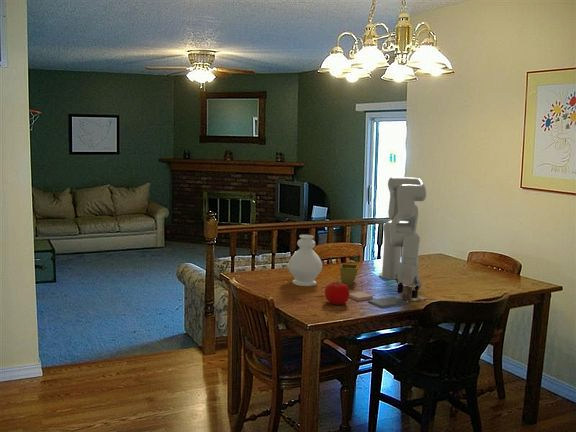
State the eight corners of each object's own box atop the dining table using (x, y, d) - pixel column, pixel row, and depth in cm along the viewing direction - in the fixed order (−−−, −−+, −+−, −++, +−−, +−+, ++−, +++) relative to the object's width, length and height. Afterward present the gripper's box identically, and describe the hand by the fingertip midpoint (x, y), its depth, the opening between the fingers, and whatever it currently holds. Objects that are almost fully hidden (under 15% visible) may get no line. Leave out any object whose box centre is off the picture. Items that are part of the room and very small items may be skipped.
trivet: (393, 298, 304) (393, 296, 304) (407, 303, 296) (407, 301, 296) (368, 302, 295) (368, 300, 295) (382, 308, 287) (382, 305, 287)
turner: (407, 302, 298) (408, 288, 297) (400, 299, 302) (401, 285, 301) (425, 299, 304) (426, 285, 303) (418, 297, 308) (419, 283, 307)
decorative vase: (328, 283, 326) (330, 236, 322) (305, 289, 313) (308, 240, 309) (302, 276, 338) (305, 231, 334) (280, 282, 325) (282, 234, 321)
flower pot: (355, 285, 325) (356, 268, 324) (338, 283, 327) (339, 267, 325) (357, 281, 334) (358, 265, 332) (340, 279, 335) (341, 263, 334)
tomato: (354, 305, 290) (355, 283, 288) (335, 308, 283) (336, 286, 282) (337, 298, 299) (339, 277, 298) (319, 301, 293) (320, 280, 291)
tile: (362, 291, 308) (348, 293, 304) (372, 295, 301) (357, 297, 297) (362, 295, 308) (347, 297, 304) (372, 299, 302) (357, 301, 297)
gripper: (391, 257, 303) (389, 291, 305) (416, 265, 288) (414, 300, 291) (402, 256, 307) (400, 290, 309) (428, 263, 292) (425, 299, 295)
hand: (407, 295), depth 300 cm, fingers open, 9 cm apart
